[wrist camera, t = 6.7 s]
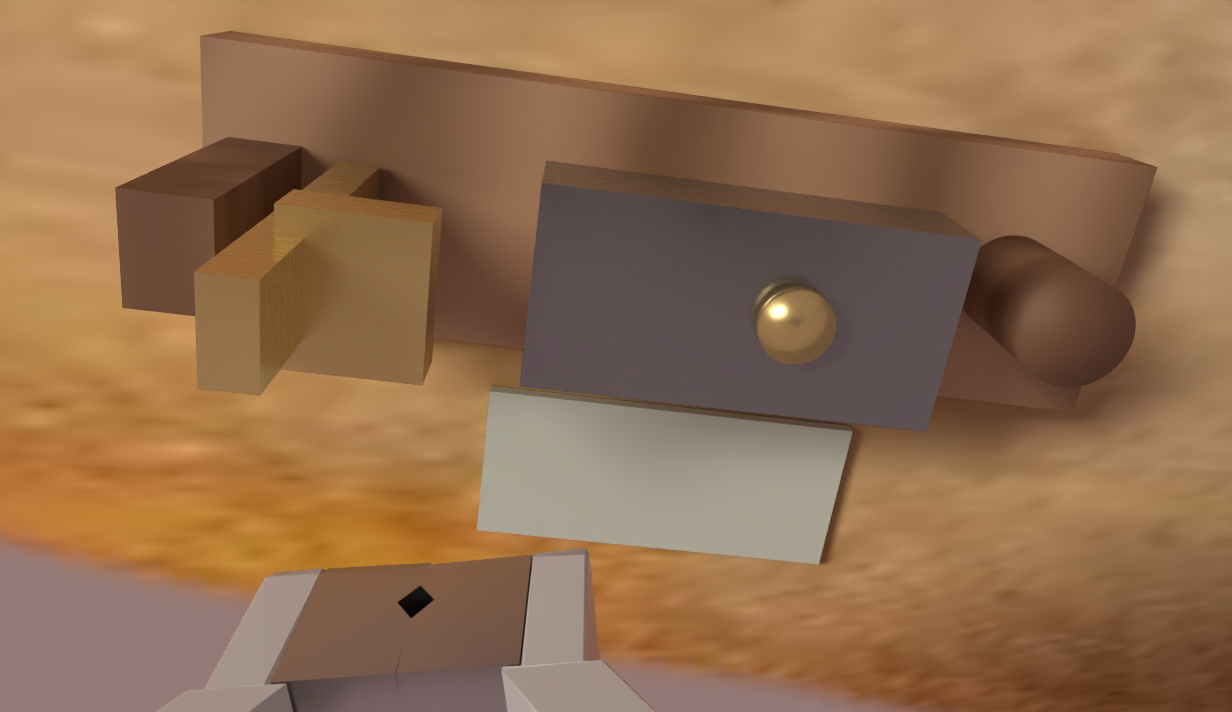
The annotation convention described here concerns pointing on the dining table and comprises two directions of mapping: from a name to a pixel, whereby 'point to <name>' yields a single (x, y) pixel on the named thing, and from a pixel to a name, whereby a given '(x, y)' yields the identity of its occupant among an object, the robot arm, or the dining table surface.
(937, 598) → the dining table surface
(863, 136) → the plane body
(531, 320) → the purple-grey knobbed block
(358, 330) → the lever
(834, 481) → the pale grey flat slab
